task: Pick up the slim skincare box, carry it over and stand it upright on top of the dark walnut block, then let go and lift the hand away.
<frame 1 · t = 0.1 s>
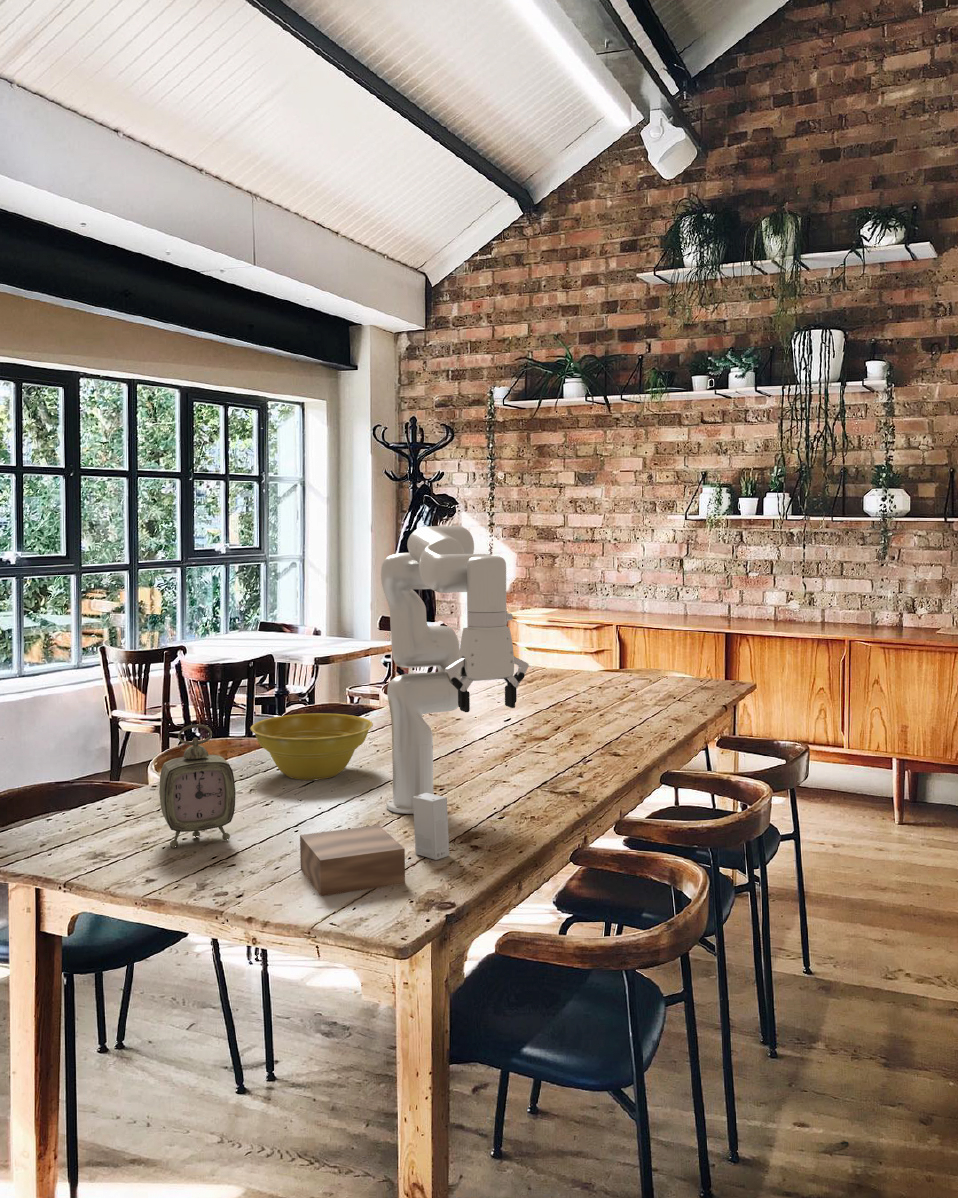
hand: (487, 709, 196), 31 cm above the table, tool pointing down, fingers open, 9 cm apart
walnut block: (351, 877, 194), on the table
skincare box: (431, 856, 205), on the table
planter bowl: (313, 774, 272), on the table
tabletop clock: (198, 841, 216), on the table
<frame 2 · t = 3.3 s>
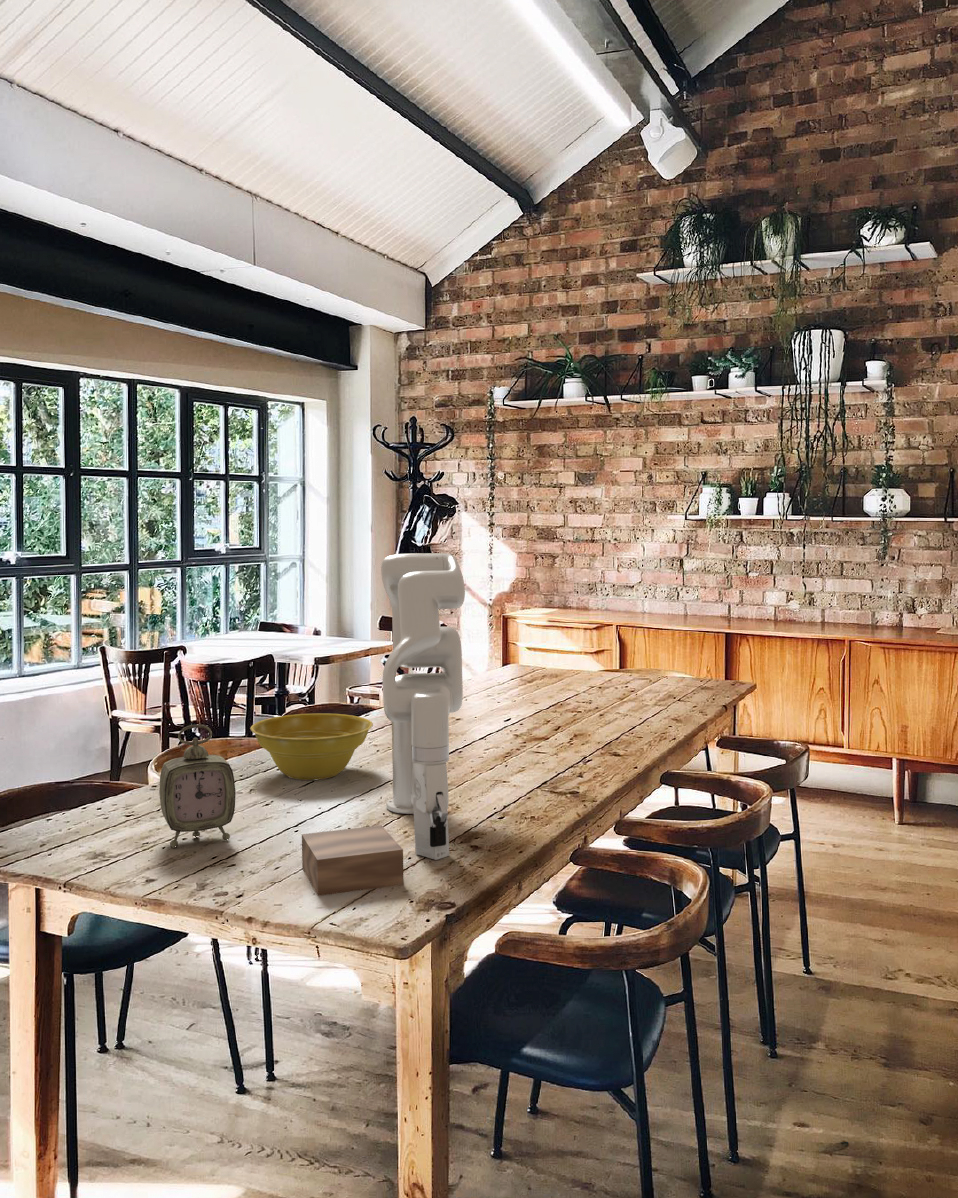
hand: (431, 839, 205), 3 cm above the table, tool pointing down, fingers closed on skincare box, 7 cm apart
skincare box: (431, 856, 205), on the table, touching gripper
everything else where it was.
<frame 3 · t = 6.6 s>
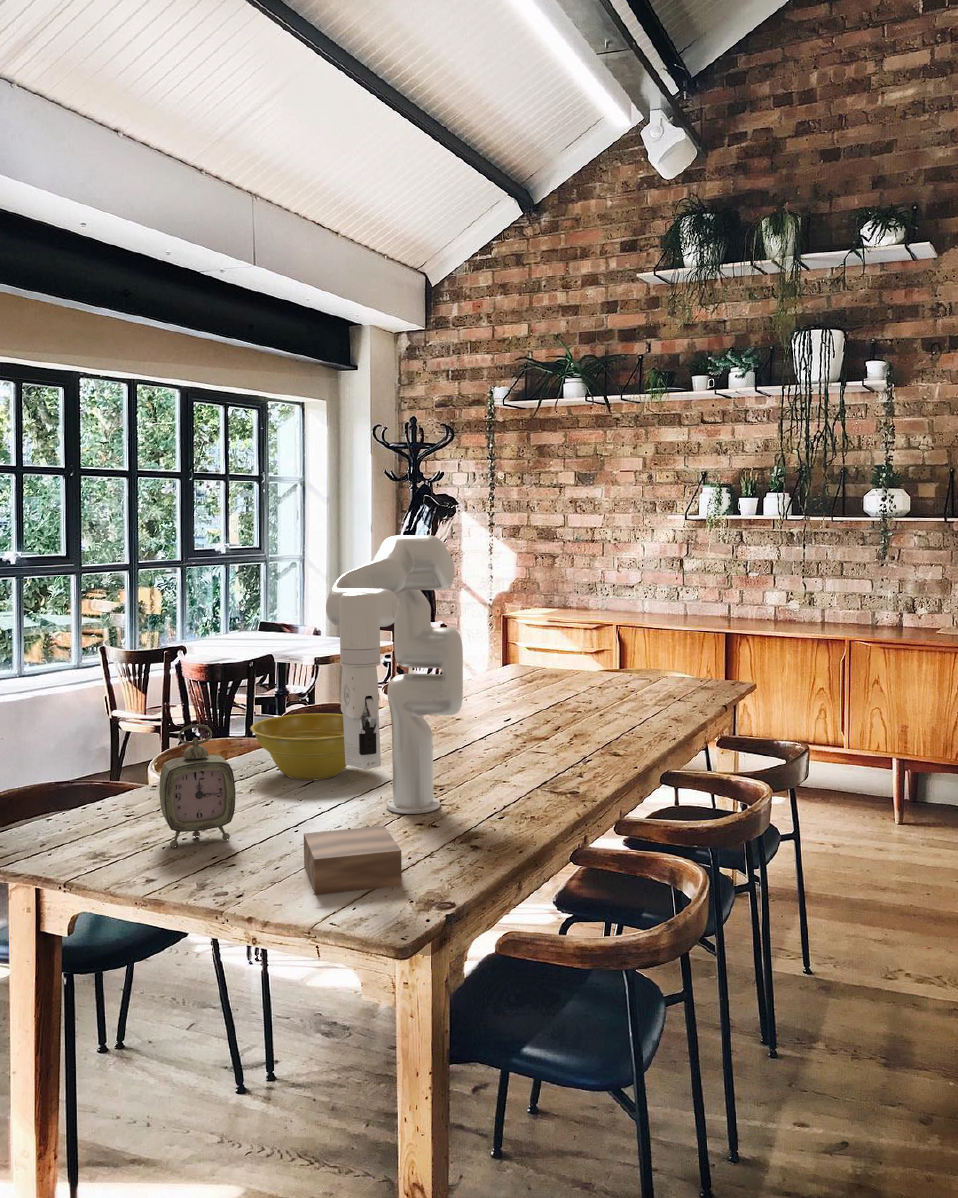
hand: (361, 749, 194), 24 cm above the table, tool pointing down, fingers closed on skincare box, 7 cm apart
skincare box: (362, 767, 194), point 21 cm above the table, touching gripper
everything else where it was.
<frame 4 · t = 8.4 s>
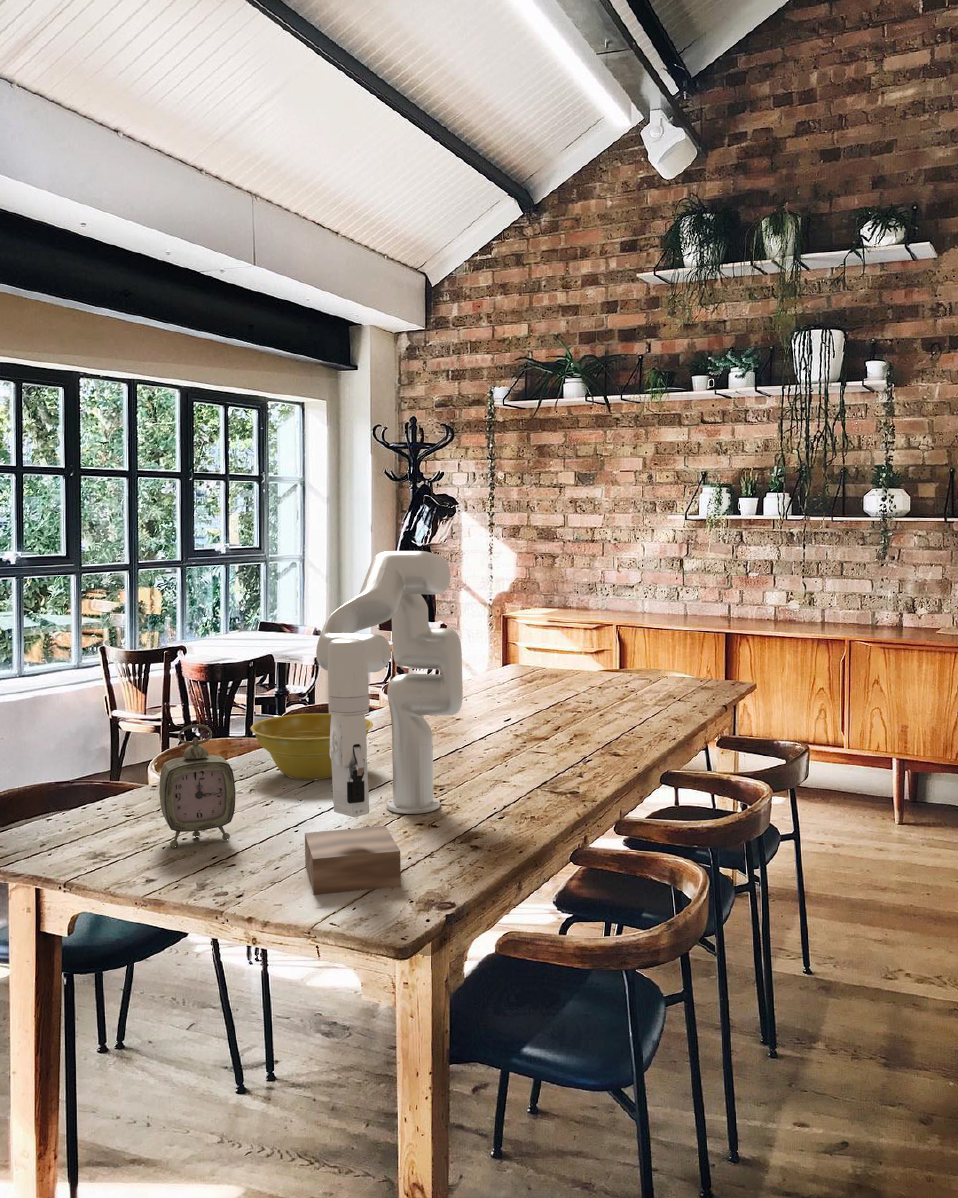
hand: (350, 796, 193), 15 cm above the table, tool pointing down, fingers closed on skincare box, 7 cm apart
skincare box: (350, 814, 193), point 12 cm above the table, touching gripper
everything else where it was.
when the fingers open (11 cm above the table, at t = 9.8 s): skincare box drops 1 cm, resting on walnut block.
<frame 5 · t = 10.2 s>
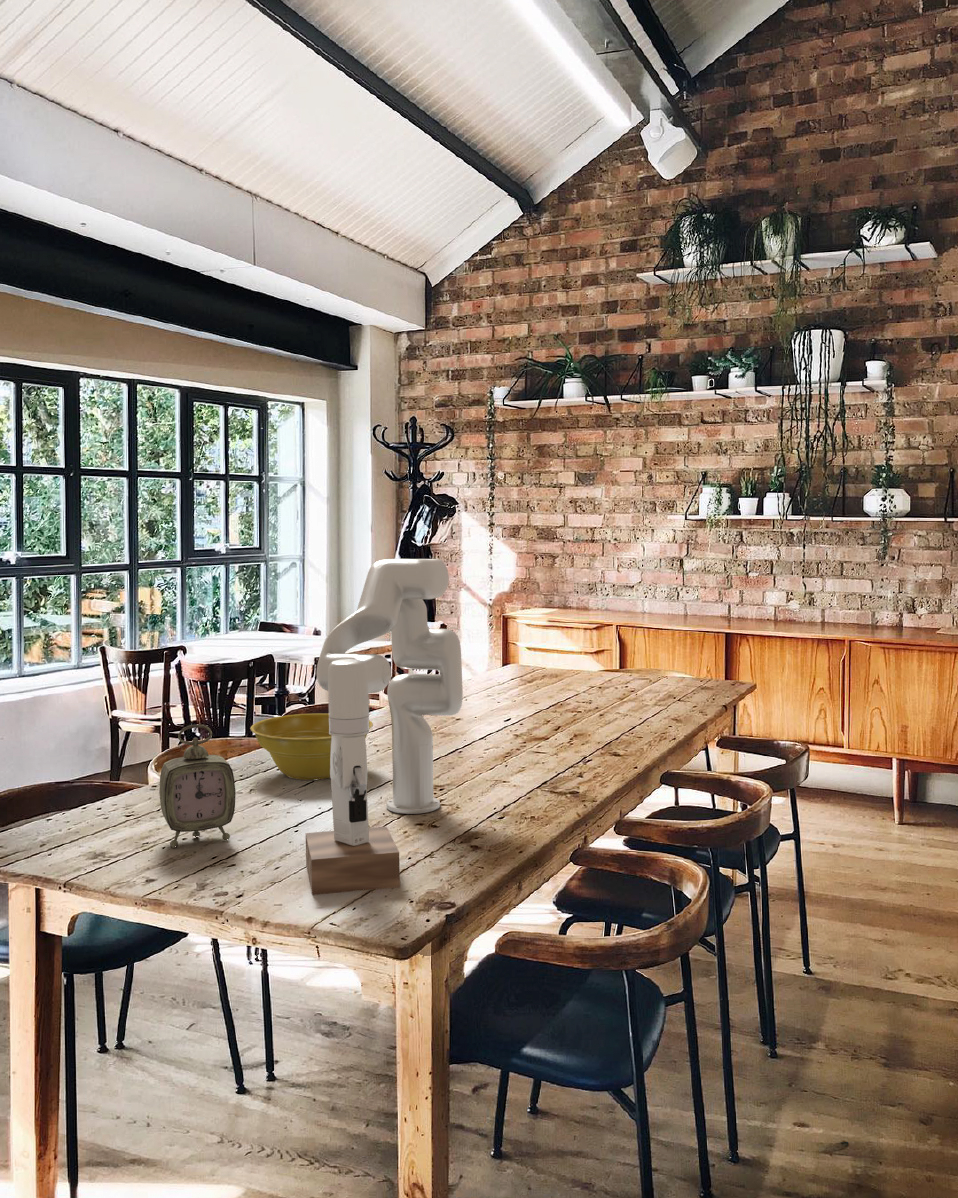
hand: (350, 814, 193), 12 cm above the table, tool pointing down, fingers open, 9 cm apart
walnut block: (351, 878, 194), on the table, touching skincare box
skincare box: (350, 842, 194), point 6 cm above the table, touching walnut block
everything else where it was.
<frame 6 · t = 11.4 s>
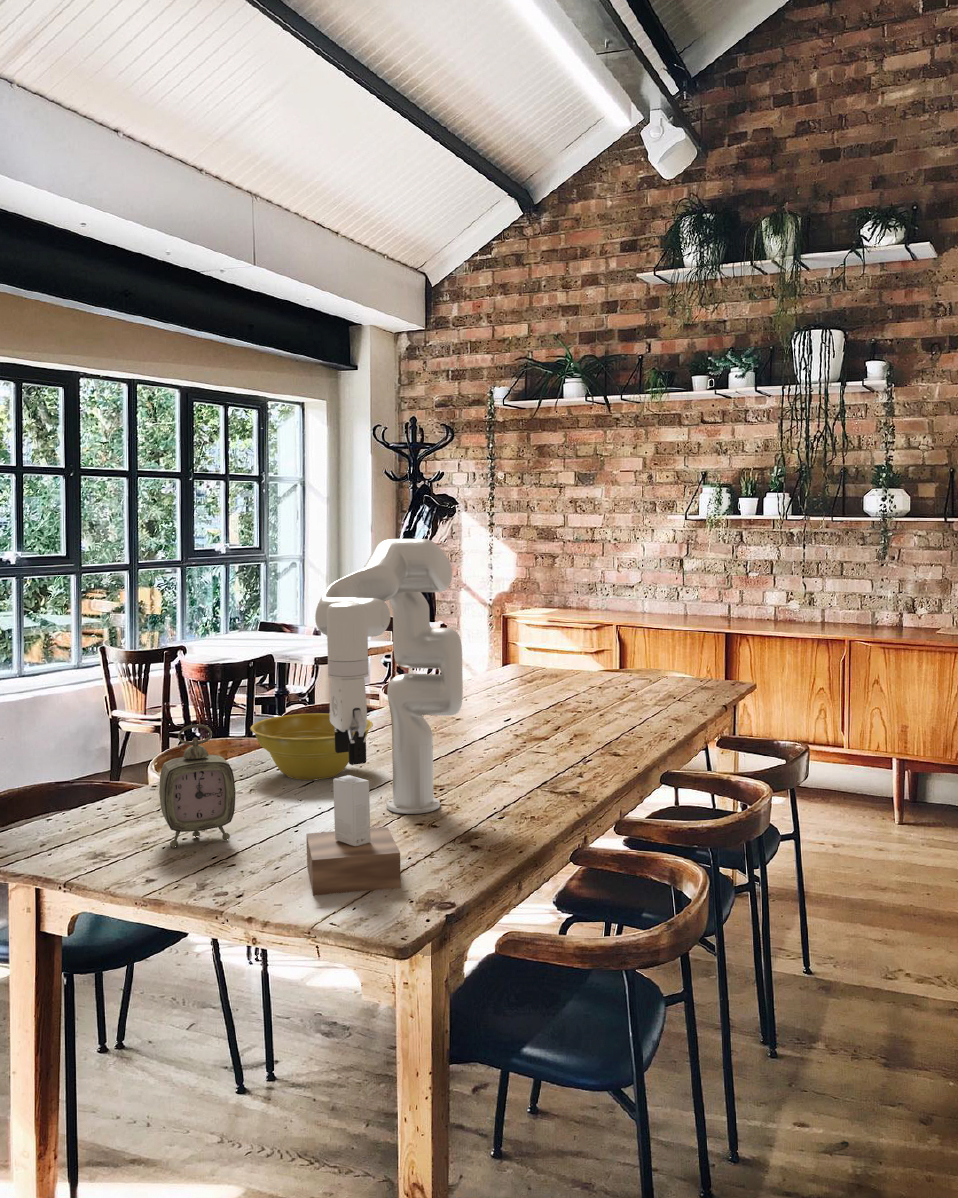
hand: (350, 757, 193), 23 cm above the table, tool pointing down, fingers open, 9 cm apart
walnut block: (352, 878, 193), on the table
skincare box: (351, 842, 193), point 6 cm above the table
everything else where it was.
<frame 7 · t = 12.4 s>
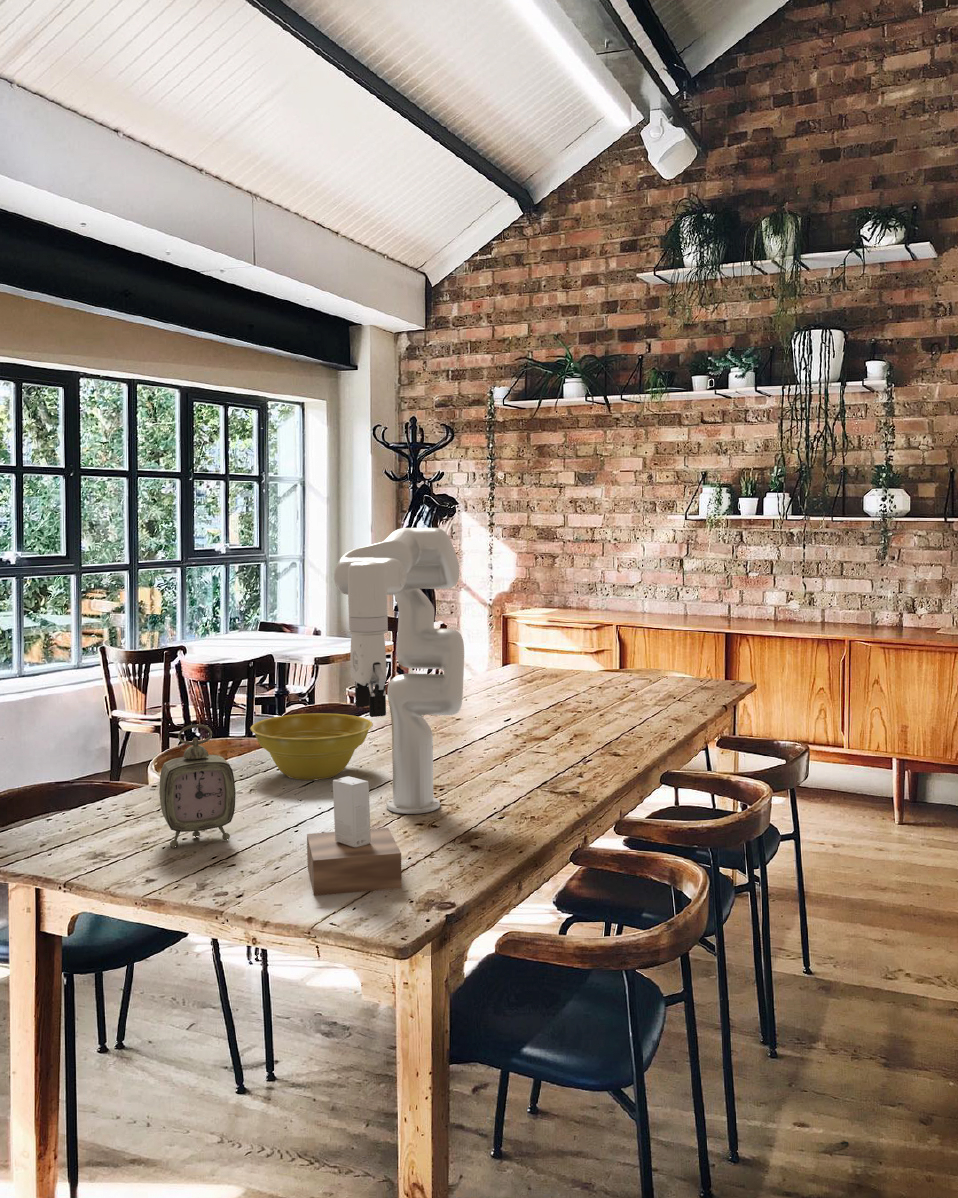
hand: (370, 711, 200), 30 cm above the table, tool pointing down, fingers open, 9 cm apart
nothing on the table moved.
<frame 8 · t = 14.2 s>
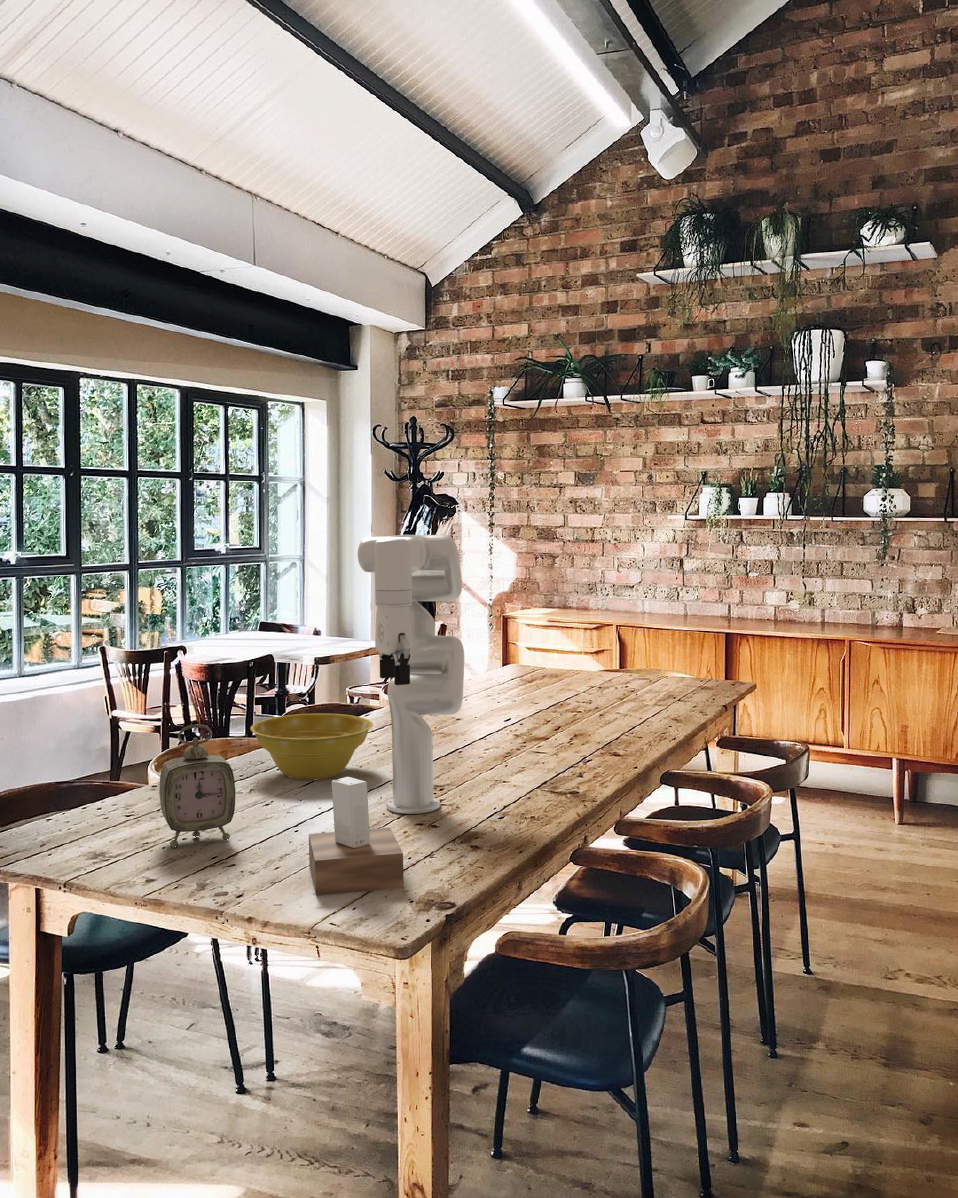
hand: (394, 681, 210), 34 cm above the table, tool pointing down, fingers open, 9 cm apart
walnut block: (355, 879, 193), on the table, touching skincare box
skincare box: (351, 844, 193), point 6 cm above the table, touching walnut block
everything else where it was.
at the end: skincare box inside the target area on the walnut block (0.5 cm from its centre), point 6.8 cm above the walnut block's base; skincare box tilted 0°; the gripper is holding nothing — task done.
